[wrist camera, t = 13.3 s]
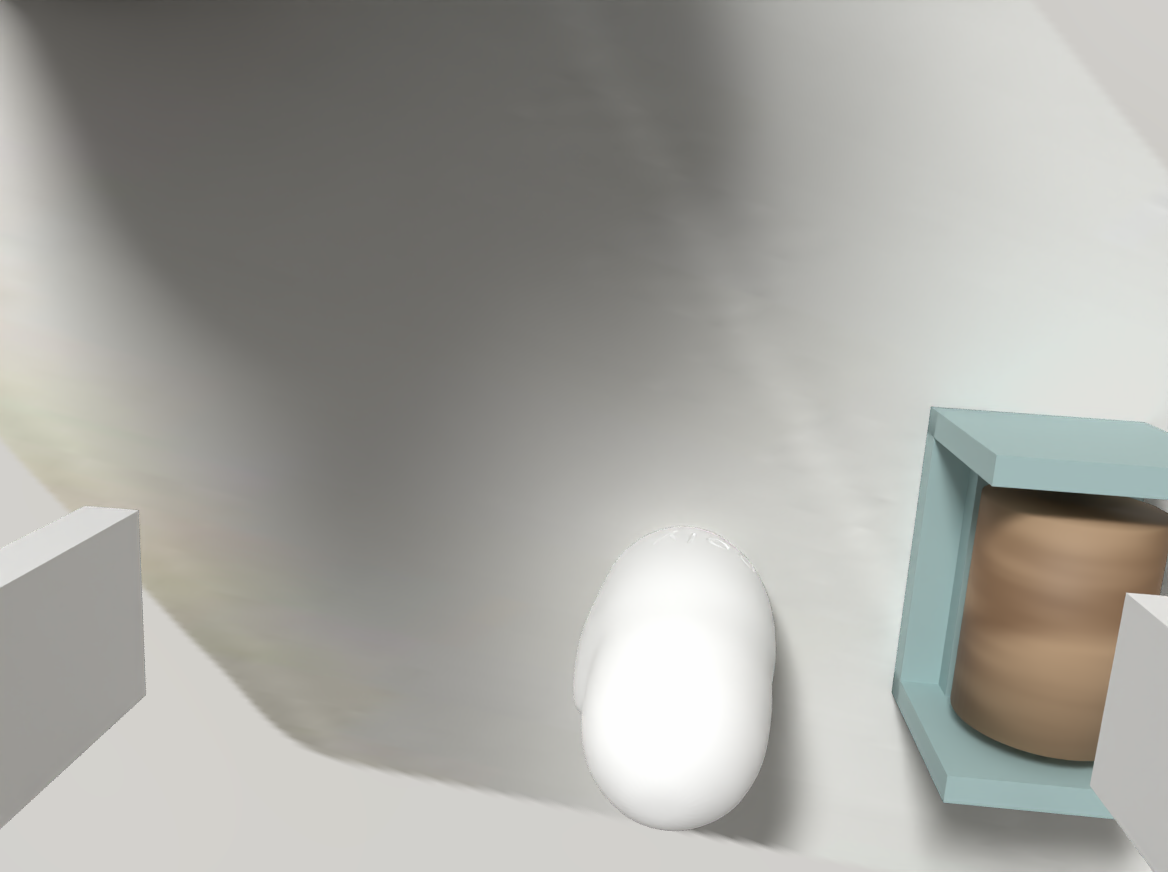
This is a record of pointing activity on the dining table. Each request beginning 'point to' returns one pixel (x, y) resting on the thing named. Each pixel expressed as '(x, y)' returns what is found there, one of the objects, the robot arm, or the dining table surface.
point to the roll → (1050, 613)
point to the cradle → (941, 570)
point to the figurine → (677, 679)
